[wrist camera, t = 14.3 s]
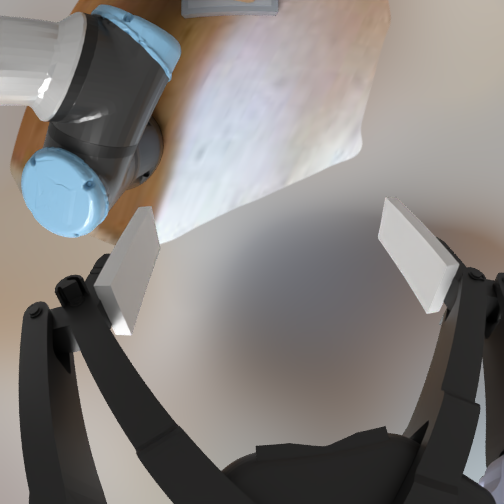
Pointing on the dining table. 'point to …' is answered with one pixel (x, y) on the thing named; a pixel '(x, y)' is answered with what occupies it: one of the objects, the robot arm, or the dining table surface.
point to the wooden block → (247, 0)
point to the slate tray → (227, 8)
